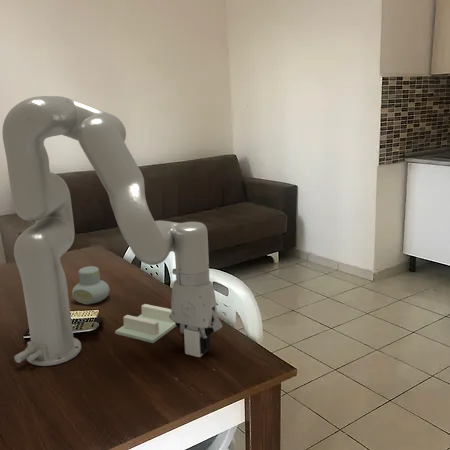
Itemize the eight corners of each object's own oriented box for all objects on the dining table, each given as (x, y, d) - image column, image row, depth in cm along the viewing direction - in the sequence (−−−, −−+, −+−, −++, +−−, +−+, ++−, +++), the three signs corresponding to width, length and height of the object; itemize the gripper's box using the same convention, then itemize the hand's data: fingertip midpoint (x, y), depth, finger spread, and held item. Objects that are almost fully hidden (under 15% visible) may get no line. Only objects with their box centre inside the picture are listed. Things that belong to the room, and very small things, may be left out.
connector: (199, 357, 114) (198, 325, 112) (185, 353, 116) (183, 322, 114) (208, 349, 118) (206, 318, 116) (194, 346, 119) (192, 315, 117)
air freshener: (115, 297, 151) (112, 266, 148) (99, 308, 143) (96, 275, 141) (84, 293, 154) (81, 263, 152) (68, 303, 147) (64, 272, 144)
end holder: (153, 343, 122) (152, 329, 121) (115, 333, 127) (114, 320, 126) (183, 320, 133) (183, 307, 132) (148, 312, 139) (147, 300, 138)
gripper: (153, 276, 113) (158, 348, 117) (217, 287, 105) (220, 364, 110) (171, 266, 119) (176, 335, 124) (233, 276, 111) (235, 349, 116)
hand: (196, 348), depth 117 cm, fingers closed on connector, 4 cm apart
